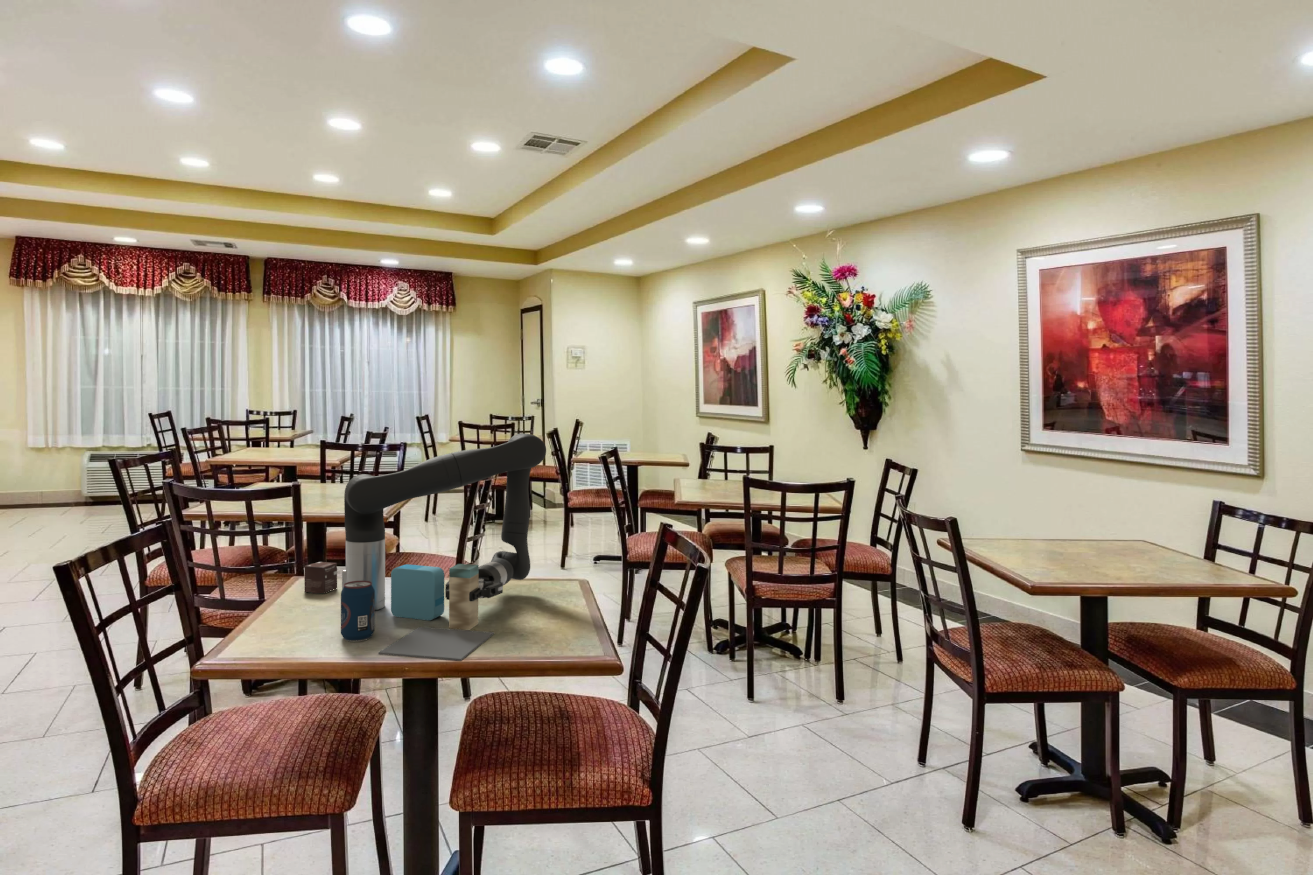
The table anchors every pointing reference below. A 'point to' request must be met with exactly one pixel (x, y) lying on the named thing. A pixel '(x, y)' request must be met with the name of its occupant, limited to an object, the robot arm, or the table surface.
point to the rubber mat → (438, 643)
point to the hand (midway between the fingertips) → (459, 596)
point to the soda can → (357, 610)
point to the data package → (417, 592)
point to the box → (320, 577)
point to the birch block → (463, 596)
